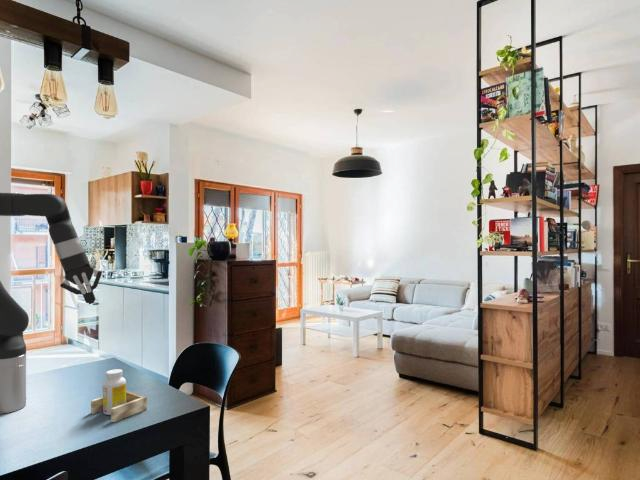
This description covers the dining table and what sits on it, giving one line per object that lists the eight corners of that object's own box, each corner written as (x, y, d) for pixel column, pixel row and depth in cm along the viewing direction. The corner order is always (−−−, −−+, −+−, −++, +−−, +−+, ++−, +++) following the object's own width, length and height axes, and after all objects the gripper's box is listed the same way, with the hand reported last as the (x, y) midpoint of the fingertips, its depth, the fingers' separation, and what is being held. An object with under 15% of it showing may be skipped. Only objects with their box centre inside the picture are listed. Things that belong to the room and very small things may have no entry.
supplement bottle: (130, 407, 132) (130, 368, 132) (119, 416, 125) (118, 374, 125) (110, 406, 132) (110, 367, 132) (98, 415, 126) (98, 374, 126)
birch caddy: (113, 422, 121) (113, 409, 121) (90, 413, 128) (90, 400, 128) (146, 409, 130) (146, 397, 130) (124, 401, 137) (124, 389, 137)
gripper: (46, 262, 125) (68, 313, 128) (92, 248, 130) (112, 297, 133) (51, 260, 132) (72, 308, 135) (95, 246, 136) (113, 293, 139)
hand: (92, 303), depth 134 cm, fingers closed
